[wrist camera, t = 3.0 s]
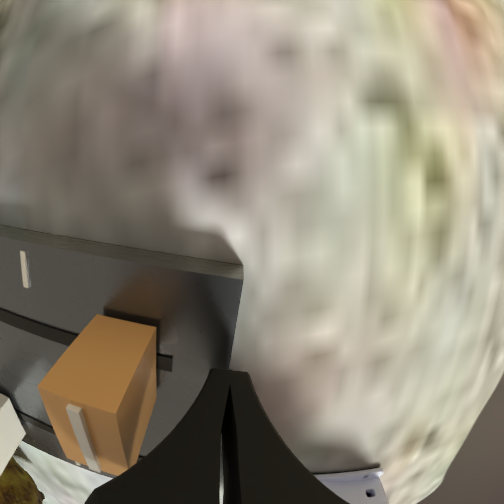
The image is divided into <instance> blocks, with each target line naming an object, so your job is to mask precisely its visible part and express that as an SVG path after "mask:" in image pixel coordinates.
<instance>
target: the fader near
mask: <svg viewBox="0 0 504 504" xmlns="http://www.w3.org/2000/svg"><path fill="white" fill-rule="evenodd" d="M37 387H38V390H39V393H40V395H41V398H42V401H43V404H44V406H45V409H46V412H47V414H48V417H49V419H50V422H51V424H52V427H53V429H54V431H55V434H56V436H57V438H58V440H59V442H60V445H61V447H62V449H63V451H64V453H65V455H66V457H67V458H68V459H71V460H73V461H76V462H78V463H81V464H83V465H86V466H88V467H89V469H90V470H93V471H96V472H99V473H101V471H104V472H107V473H110V474H113V475H116V476H119V475H120V474H122V473H123V472H125V471H126V470H128V469H129V468H130V467H132V466H133V465H134V464H136V462H137V459H138V456H139V452H140V449H141V446H142V442H143V439H144V436H145V433H146V429H147V426H148V423H149V420H150V417H151V414H152V411H153V407H154V404H155V401H156V398H157V386H156V327H153V326H148V325H143V324H139V323H134V322H129V321H125V320H120V319H116V318H111V317H107V316H103V315H99V314H97V315H96V316H95V317H94V318H93V319H92V320H91V321H90V323H89V324H88V325H87V326H86V327H85V328H84V329H83V331H82V332H81V333H80V334H79V335H78V337H77V338H76V339H75V340H74V341H73V342H72V344H71V345H70V346H69V347H68V348H67V350H66V351H65V352H64V353H63V354H62V356H61V357H60V358H59V359H58V361H57V362H56V363H55V364H54V366H53V367H52V368H51V369H50V371H49V372H48V373H47V374H46V376H45V377H44V378H43V379H42V381H41V382H40V383H39V385H38V386H37Z"/></svg>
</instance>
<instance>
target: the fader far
mask: <svg viewBox="0 0 504 504" xmlns="http://www.w3.org/2000/svg"><path fill="white" fill-rule="evenodd" d="M25 434H26V433H25V431H24V429H23V427H22V425H21V423H20V421H19V419H18V417H17V414H16V412H15V410H14V408H13V406H12V403H11V401H10V399H9V398H8V397H6V396H5V395H3V394H1V393H0V476H1V474H2V472H3V471H4V469H5V467H6V465H7V464H8V462H9V460H10V459H11V457H12V455H13V454H14V452H15V450H16V449H17V447H18V445H19V444H20V442H21V441H22V439H23V437H24V436H25Z"/></svg>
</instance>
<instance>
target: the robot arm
mask: <svg viewBox="0 0 504 504" xmlns="http://www.w3.org/2000/svg"><path fill="white" fill-rule="evenodd" d="M221 432H222V456H223V476H224V494H223V504H389V502H388V499H387V497H386V494H385V491H384V489H383V486H382V483H381V481H380V478H379V477H380V476H381V475H382V474H383V469H382V468H375V469H369V470H361V471H354V472H345V473H334V474H321V475H313V474H312V473H311V472H310V471H309V470H308V469H307V468H306V467H305V466H304V465H303V464H302V463H301V462H300V461H299V460H298V459H297V458H296V456H295V455H294V454H293V453H292V452H291V450H290V449H289V448H288V447H287V445H286V444H285V443H284V441H283V440H282V439H281V437H280V436H279V434H278V433H277V431H276V430H275V428H274V426H273V425H272V423H271V422H270V420H269V418H268V416H267V414H266V413H265V411H264V409H263V407H262V405H261V403H260V401H259V399H258V396H257V394H256V392H255V389H254V387H253V384H252V381H251V378H250V375H249V374H248V373H247V372H240V371H232V370H224V369H217V368H212V369H210V370H209V373H208V376H207V379H206V381H205V383H204V385H203V387H202V389H201V391H200V393H199V394H198V396H197V397H196V399H195V401H194V402H193V404H192V405H191V407H190V408H189V410H188V411H187V412H186V414H185V415H184V416H183V418H182V419H181V420H180V422H179V423H178V424H177V425H176V426H175V428H174V429H173V430H172V431H171V432H170V433H169V434H168V435H167V436H166V437H165V438H164V439H163V440H162V441H161V442H160V443H159V444H158V445H157V446H156V447H155V448H154V449H153V450H152V451H151V452H150V453H148V454H147V455H146V456H145V457H144V458H142V459H141V460H140V461H138V462H137V463H136V464H134V465H133V466H132V467H130V468H129V469H128V470H126V471H125V472H123V473H122V474H120V475H119V476H117V477H115V478H114V479H112V480H110V481H108V482H107V483H105V484H103V485H101V486H99V487H98V488H96V489H94V490H93V492H92V493H91V494H90V496H89V497H88V499H87V500H86V502H85V503H84V504H220V502H219V488H220V444H221Z"/></svg>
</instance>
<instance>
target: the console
mask: <svg viewBox="0 0 504 504" xmlns="http://www.w3.org/2000/svg"><path fill="white" fill-rule="evenodd" d="M242 285H243V265H238V264H231V263H225V262H218V261H212V260H205V259H199V258H192V257H186V256H180V255H173V254H167V253H161V252H155V251H148V250H142V249H136V248H130V247H124V246H118V245H112V244H106V243H100V242H94V241H88V240H82V239H76V238H71V237H65V236H59V235H53V234H48V233H42V232H36V231H31V230H25V229H20V228H14V227H9V226H3V225H0V393H1V394H3V395H5V396H6V397H8V398H9V399H10V401H11V403H12V406H13V408H14V410H15V412H16V414H17V417H18V419H19V421H20V423H21V425H22V427H23V429H24V431H25V433H26V434H25V436H24V437H23V439H22V441H24V442H26V443H27V444H29V445H31V446H33V447H35V448H37V449H39V450H42V451H44V452H46V453H48V454H50V455H52V456H55V457H57V458H59V459H61V460H64V461H66V462H69V463H71V464H74V465H76V466H79V467H81V468H84V469H87V470H89V471H92V472H95V473H98V474H101V475H104V476H107V477H110V478H115V477H117V476H116V475H113V474H110V473H107V472H104V471H101V473H99V472H96V471H93V470H90V469H89V467H88V466H86V465H83V464H81V463H78V462H76V461H73V460H71V459H68V458H67V457H66V455H65V453H64V451H63V449H62V447H61V445H60V442H59V440H58V438H57V436H56V434H55V431H54V429H53V427H52V424H51V422H50V419H49V417H48V414H47V412H46V409H45V406H44V404H43V401H42V398H41V395H40V393H39V390H38V387H37V386H38V385H39V383H40V382H41V381H42V379H43V378H44V377H45V376H46V374H47V373H48V372H49V371H50V369H51V368H52V367H53V366H54V364H55V363H56V362H57V361H58V359H59V358H60V357H61V356H62V354H63V353H64V352H65V351H66V350H67V348H68V347H69V346H70V345H71V344H72V342H73V341H74V340H75V339H76V338H77V337H78V335H79V334H80V333H81V332H82V331H83V329H84V328H85V327H86V326H87V325H88V324H89V323H90V321H91V320H92V319H93V318H94V317H95V316H96V315H97V314H99V315H103V316H107V317H111V318H116V319H120V320H125V321H129V322H134V323H139V324H143V325H148V326H153V327H156V386H157V398H156V401H155V404H154V407H153V411H152V414H151V417H150V420H149V423H148V426H147V429H146V433H145V436H144V439H143V442H142V446H141V449H140V452H139V456H138V459H137V462H138V461H140V460H141V459H142V458H144V457H145V456H146V455H147V454H148V453H150V452H151V451H152V450H153V449H154V448H155V447H156V446H157V445H158V444H159V443H160V442H161V441H162V440H163V439H164V438H165V437H166V436H167V435H168V434H169V433H170V432H171V431H172V430H173V429H174V428H175V426H176V425H177V424H178V423H179V422H180V420H181V419H182V418H183V416H184V415H185V414H186V412H187V411H188V410H189V408H190V407H191V405H192V404H193V402H194V401H195V399H196V397H197V396H198V394H199V393H200V391H201V389H202V387H203V385H204V383H205V381H206V379H207V376H208V373H209V370H210V369H212V368H217V369H224V370H228V369H229V363H230V357H231V351H232V345H233V339H234V333H235V327H236V321H237V315H238V309H239V303H240V297H241V291H242ZM137 462H136V463H137Z"/></svg>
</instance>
